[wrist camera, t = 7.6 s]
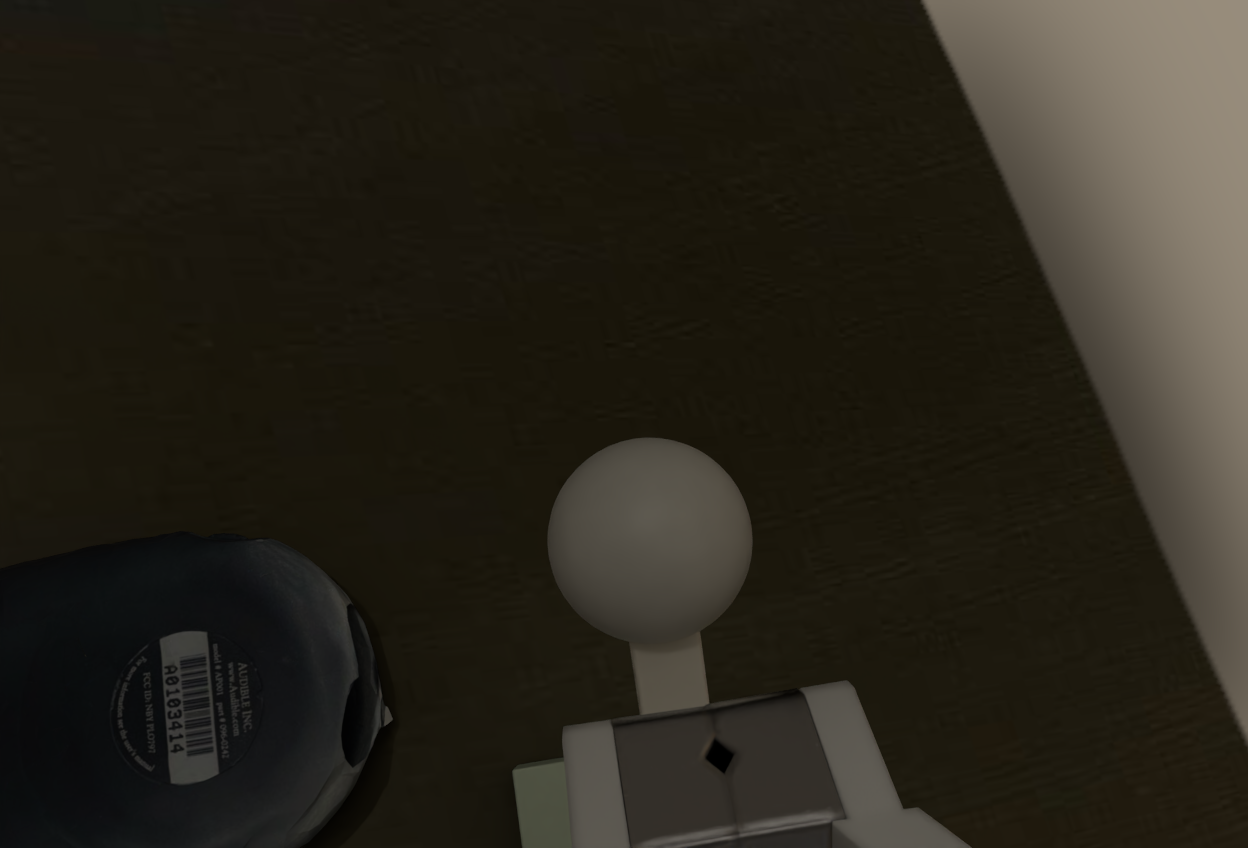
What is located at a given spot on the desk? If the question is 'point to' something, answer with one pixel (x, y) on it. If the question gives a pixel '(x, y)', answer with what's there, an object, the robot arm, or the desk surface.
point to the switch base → (542, 804)
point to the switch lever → (652, 558)
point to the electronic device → (180, 696)
